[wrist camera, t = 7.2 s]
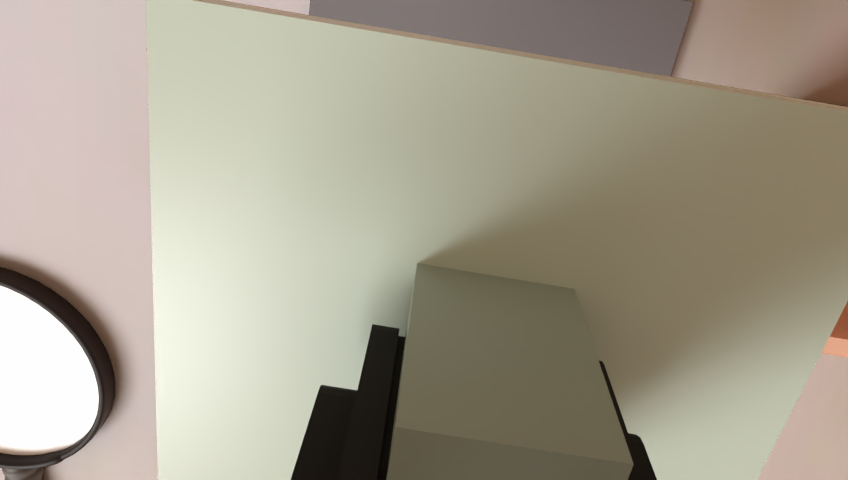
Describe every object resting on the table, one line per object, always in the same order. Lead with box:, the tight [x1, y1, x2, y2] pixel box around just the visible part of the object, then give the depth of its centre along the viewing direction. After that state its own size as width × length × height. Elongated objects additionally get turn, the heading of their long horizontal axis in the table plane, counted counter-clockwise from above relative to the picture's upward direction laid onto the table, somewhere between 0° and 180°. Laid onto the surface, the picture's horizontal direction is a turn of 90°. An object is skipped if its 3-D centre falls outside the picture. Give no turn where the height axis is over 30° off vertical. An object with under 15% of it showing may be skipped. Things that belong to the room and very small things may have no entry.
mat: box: [309, 0, 693, 77], centre depth 28 cm, size 15×15×1 cm
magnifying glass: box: [0, 267, 115, 480], centre depth 37 cm, size 12×24×2 cm, turn 177°
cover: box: [146, 0, 848, 480], centre depth 11 cm, size 13×13×5 cm
